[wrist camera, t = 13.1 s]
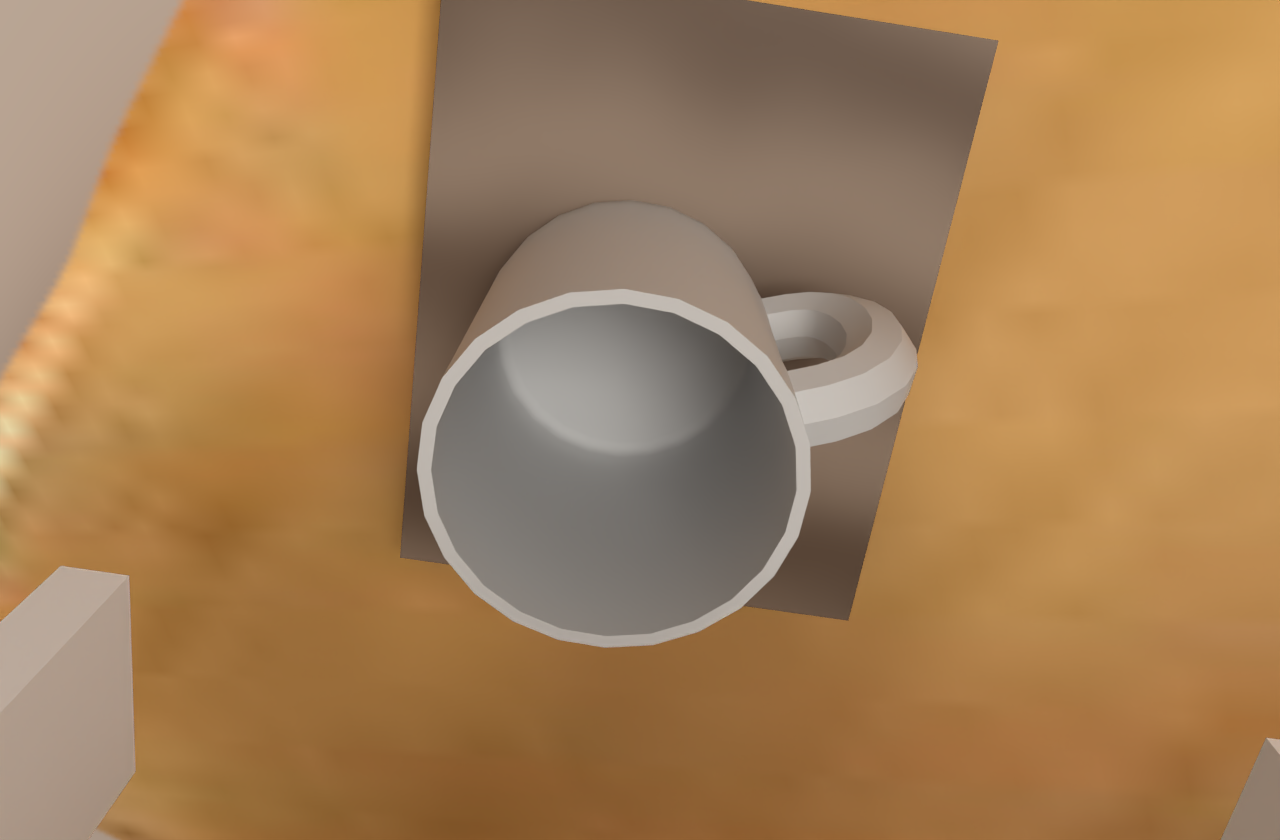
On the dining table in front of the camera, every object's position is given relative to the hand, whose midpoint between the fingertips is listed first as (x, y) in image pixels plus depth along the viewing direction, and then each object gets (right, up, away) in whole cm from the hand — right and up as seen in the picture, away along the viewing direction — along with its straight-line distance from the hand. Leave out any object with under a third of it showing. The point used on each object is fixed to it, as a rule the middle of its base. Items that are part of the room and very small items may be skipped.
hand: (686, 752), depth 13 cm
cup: (0, +6, +15) cm, 17 cm away
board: (0, +7, +18) cm, 19 cm away
